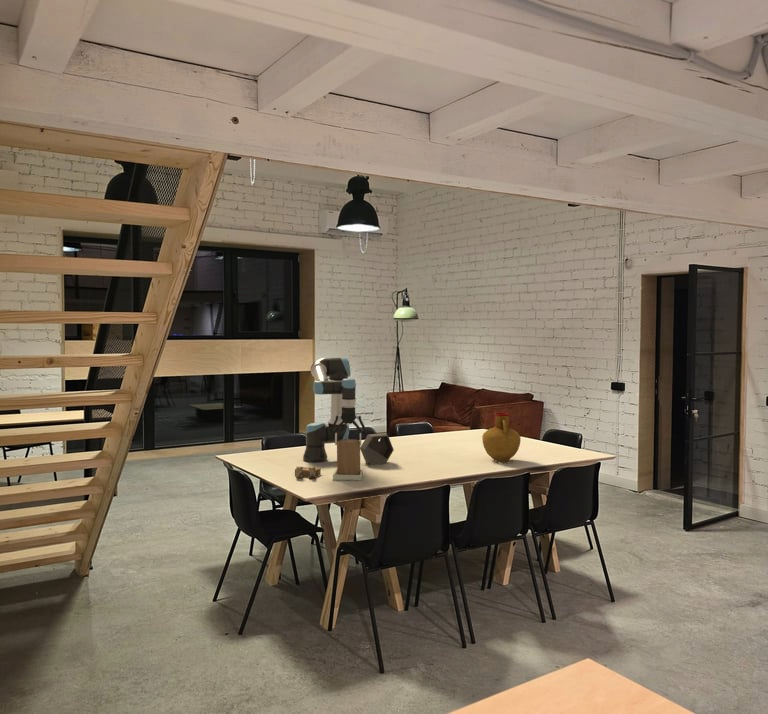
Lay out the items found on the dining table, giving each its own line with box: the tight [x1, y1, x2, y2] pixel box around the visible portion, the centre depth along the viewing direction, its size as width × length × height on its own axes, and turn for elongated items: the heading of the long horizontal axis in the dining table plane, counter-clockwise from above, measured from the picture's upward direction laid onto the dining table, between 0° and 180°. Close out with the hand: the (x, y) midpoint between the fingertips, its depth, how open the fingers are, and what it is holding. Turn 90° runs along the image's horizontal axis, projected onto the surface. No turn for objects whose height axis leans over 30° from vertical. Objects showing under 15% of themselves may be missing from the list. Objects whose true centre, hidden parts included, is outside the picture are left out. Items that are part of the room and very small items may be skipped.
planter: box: [360, 433, 395, 466], centre depth 407 cm, size 17×8×21 cm
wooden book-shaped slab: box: [294, 466, 321, 478], centre depth 372 cm, size 8×12×4 cm, turn 70°
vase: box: [481, 412, 521, 463], centre depth 419 cm, size 24×24×30 cm
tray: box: [332, 468, 364, 482], centre depth 366 cm, size 15×15×3 cm
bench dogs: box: [295, 466, 317, 480], centre depth 364 cm, size 4×11×6 cm, turn 88°
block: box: [336, 438, 361, 475], centre depth 366 cm, size 10×10×20 cm
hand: (348, 445), depth 366 cm, fingers open, 13 cm apart
